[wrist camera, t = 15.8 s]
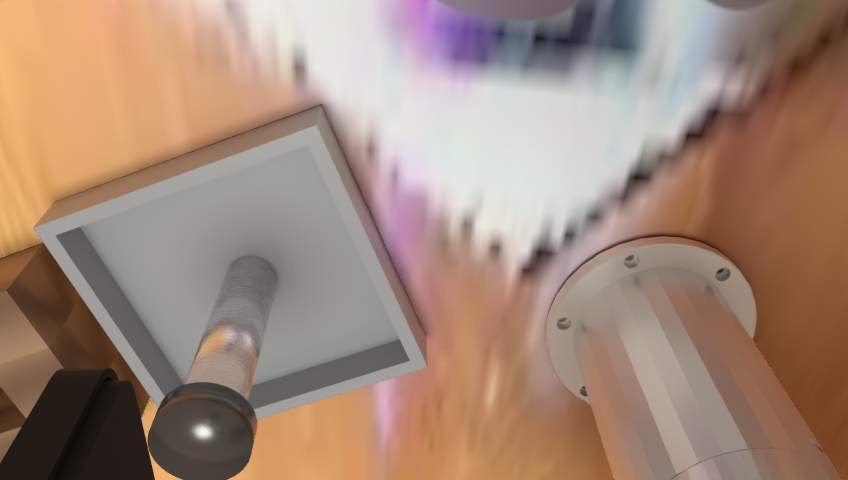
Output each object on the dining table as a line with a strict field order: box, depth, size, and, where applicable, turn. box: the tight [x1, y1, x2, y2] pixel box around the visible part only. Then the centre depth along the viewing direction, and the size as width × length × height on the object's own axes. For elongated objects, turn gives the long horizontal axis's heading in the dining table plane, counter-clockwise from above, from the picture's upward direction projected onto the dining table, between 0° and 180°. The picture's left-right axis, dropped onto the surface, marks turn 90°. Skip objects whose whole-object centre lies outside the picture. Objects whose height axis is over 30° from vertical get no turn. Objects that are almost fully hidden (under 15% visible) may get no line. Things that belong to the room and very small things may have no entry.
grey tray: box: [34, 105, 428, 420], centre depth 46 cm, size 16×16×3 cm
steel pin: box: [148, 256, 278, 480], centre depth 41 cm, size 4×4×14 cm
